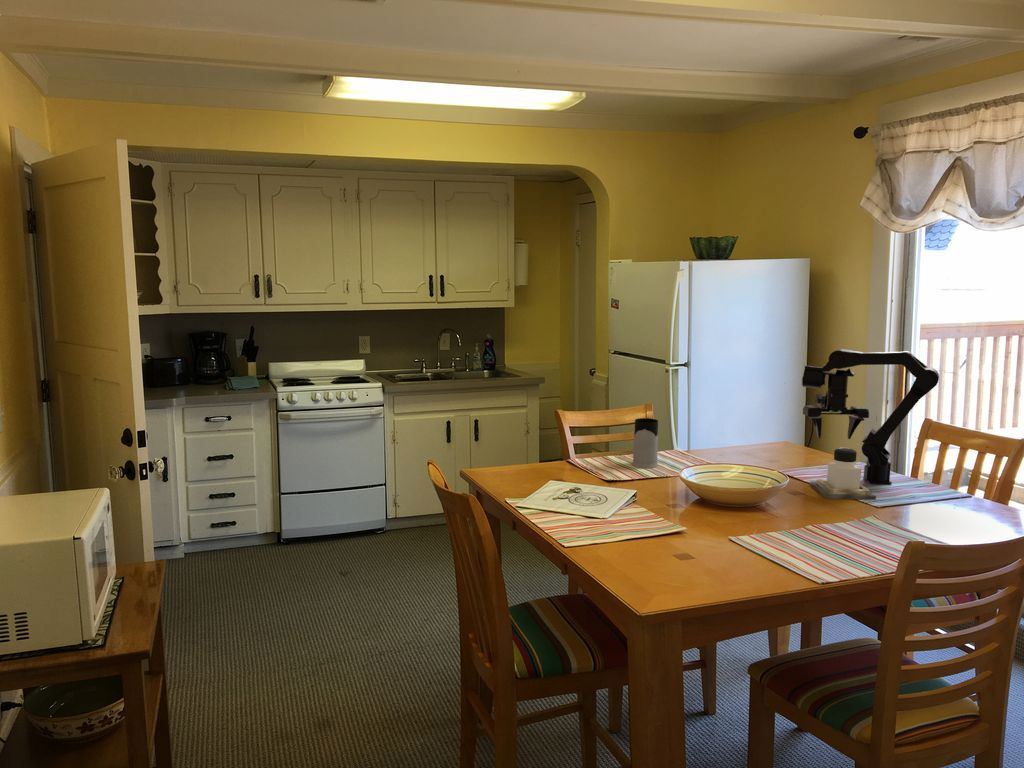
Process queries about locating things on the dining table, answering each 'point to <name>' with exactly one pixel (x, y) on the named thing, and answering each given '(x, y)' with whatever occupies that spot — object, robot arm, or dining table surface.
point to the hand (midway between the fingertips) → (833, 438)
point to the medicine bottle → (844, 470)
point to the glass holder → (645, 443)
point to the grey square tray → (841, 491)
